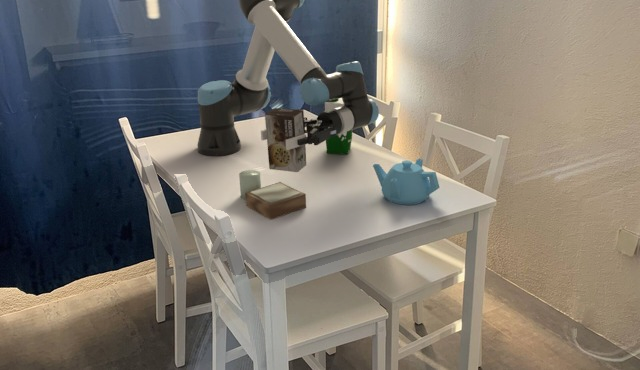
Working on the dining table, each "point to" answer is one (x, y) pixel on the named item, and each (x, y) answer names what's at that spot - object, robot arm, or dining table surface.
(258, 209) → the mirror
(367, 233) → the dining table surface
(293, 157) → the coffee box
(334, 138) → the milk carton
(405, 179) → the teapot
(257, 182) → the sage rounded cylinder
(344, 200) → the dining table surface
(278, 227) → the dining table surface
